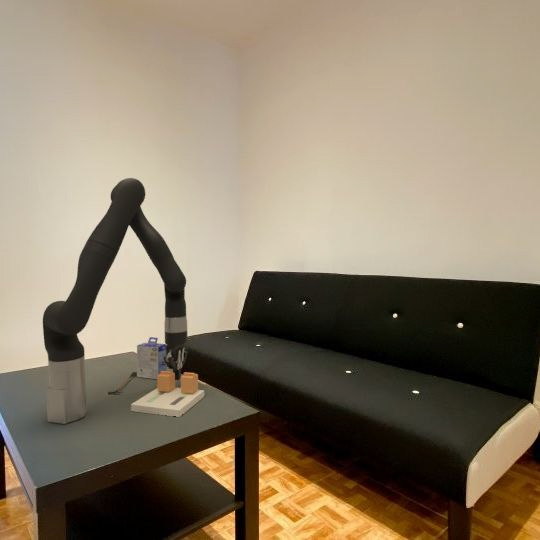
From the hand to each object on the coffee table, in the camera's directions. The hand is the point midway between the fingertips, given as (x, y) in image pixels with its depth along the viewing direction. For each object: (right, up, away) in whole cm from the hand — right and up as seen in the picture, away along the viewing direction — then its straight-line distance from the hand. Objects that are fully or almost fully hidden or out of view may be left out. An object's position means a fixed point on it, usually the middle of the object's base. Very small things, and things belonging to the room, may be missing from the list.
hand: (177, 379), depth 134 cm
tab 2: (+6, -1, -8) cm, 10 cm away
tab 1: (-2, -1, -7) cm, 7 cm away
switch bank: (+1, -4, -12) cm, 13 cm away
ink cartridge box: (-12, -3, +13) cm, 19 cm away
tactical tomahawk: (-19, -4, +6) cm, 20 cm away
